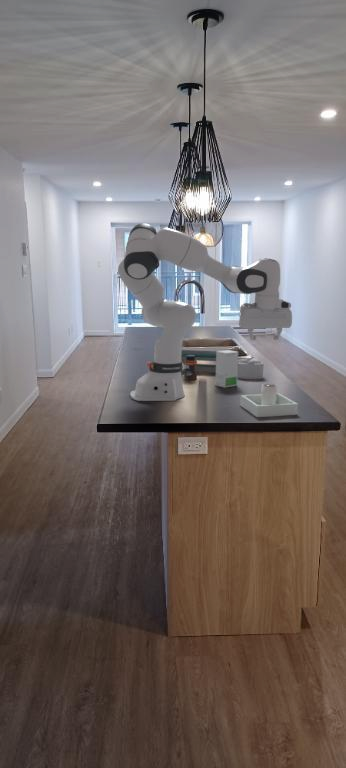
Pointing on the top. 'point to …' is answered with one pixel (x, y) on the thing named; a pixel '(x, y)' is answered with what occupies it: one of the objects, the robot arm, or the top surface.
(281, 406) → the sage tray
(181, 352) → the robot arm
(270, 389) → the white cup
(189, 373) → the supplement bottle
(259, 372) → the lumpy-topped squat cylinder
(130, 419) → the top surface
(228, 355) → the skincare box
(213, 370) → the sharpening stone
